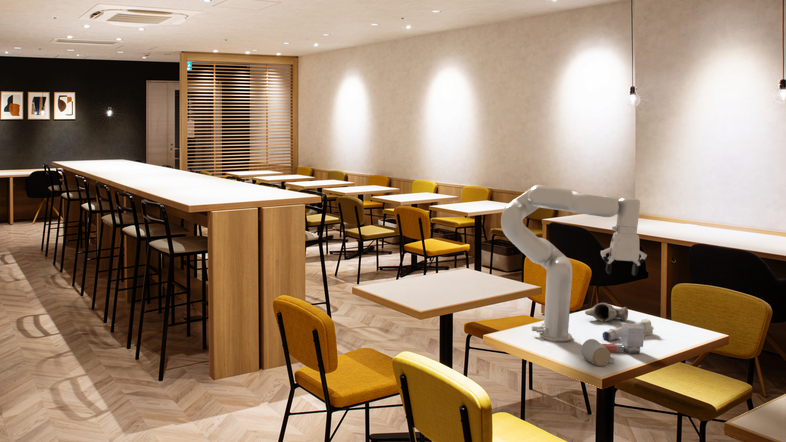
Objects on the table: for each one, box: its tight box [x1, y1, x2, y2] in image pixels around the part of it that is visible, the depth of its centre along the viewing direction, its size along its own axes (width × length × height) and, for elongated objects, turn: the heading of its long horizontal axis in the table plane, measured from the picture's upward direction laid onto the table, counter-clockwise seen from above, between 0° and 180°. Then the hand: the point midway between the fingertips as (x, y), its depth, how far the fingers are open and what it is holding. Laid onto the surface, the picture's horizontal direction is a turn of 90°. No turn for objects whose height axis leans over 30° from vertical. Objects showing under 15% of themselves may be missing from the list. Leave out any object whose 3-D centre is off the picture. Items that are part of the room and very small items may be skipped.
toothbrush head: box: [602, 318, 655, 342], centre depth 244 cm, size 5×7×25 cm
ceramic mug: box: [580, 338, 615, 367], centre depth 213 cm, size 11×8×8 cm
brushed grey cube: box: [620, 322, 645, 348], centre depth 225 cm, size 6×6×7 cm
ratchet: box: [601, 342, 641, 356], centre depth 226 cm, size 14×6×8 cm, turn 91°
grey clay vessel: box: [584, 302, 629, 323], centre depth 266 cm, size 16×9×15 cm
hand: (621, 274), depth 231 cm, fingers open, 9 cm apart
